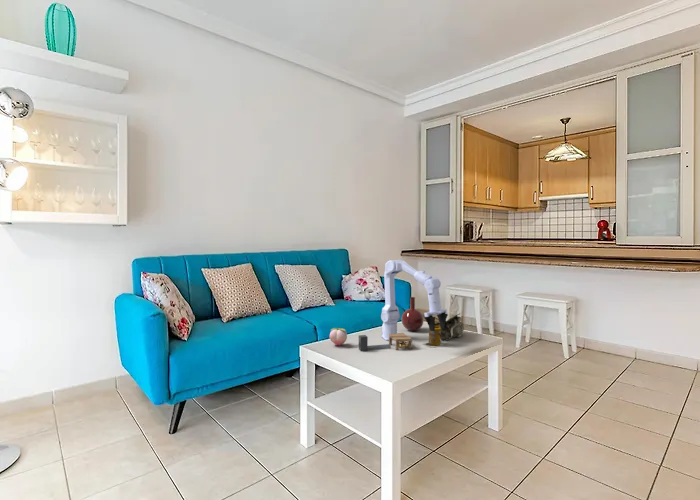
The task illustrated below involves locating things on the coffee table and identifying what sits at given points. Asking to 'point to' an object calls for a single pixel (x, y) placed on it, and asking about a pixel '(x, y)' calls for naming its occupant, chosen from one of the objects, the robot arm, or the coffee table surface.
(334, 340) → the decorative fruit
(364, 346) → the dark grey mallet
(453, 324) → the hollow geode rock
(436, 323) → the condiment
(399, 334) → the stand
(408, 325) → the round-bottom flask
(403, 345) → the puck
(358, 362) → the coffee table surface
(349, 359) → the coffee table surface
